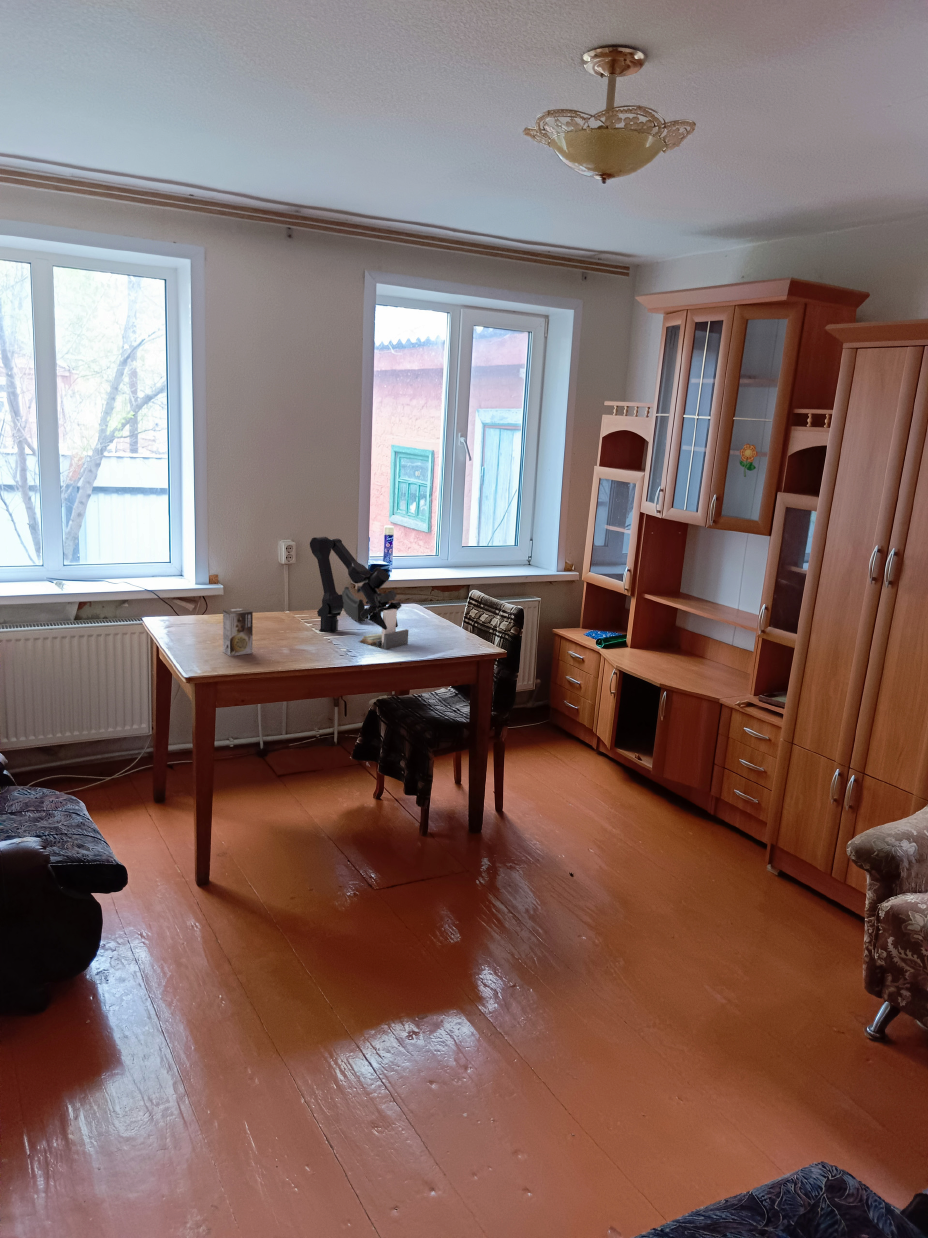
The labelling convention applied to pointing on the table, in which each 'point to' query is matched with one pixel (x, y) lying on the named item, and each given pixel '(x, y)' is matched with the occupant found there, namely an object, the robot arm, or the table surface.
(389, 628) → the tall sheet
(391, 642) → the rack
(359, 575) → the robot arm
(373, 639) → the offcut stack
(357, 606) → the magazine
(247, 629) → the coffee box
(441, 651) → the table surface
